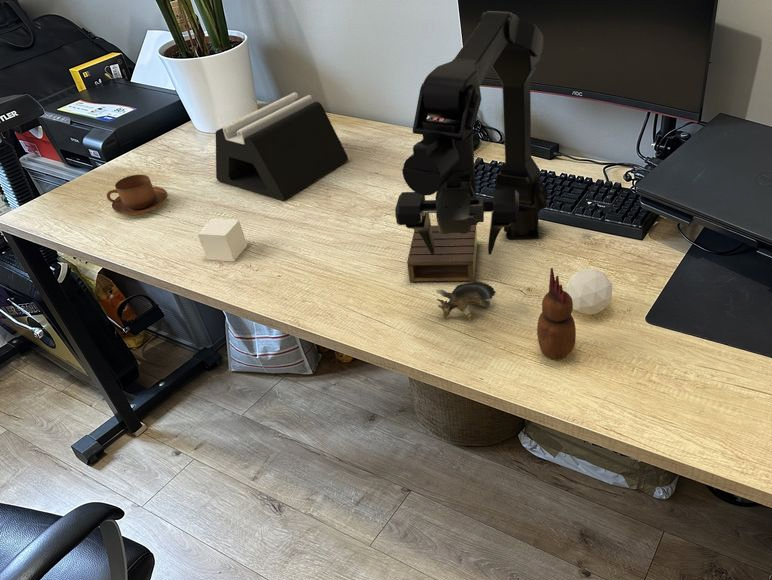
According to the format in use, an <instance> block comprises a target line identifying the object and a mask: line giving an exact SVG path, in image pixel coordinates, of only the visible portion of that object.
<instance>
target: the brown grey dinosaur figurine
mask: <svg viewBox="0 0 772 580" xmlns="http://www.w3.org/2000/svg"><path fill="white" fill-rule="evenodd" d="M435 291H436V293H437V294H438V295H440V296H442V297H444V298H447V299H448V300H443V299H440V298H437V299H436V301H438V302H439V303H440V304H438V305H437V306H438V308H440V309H441V310H442V312H443V315H442V317H443V319H445V318H447V317H448V316H449V315H450V313H451V312H452V311H453V310H454V309H455V308H457V309H458V310H459V311H460V312H462V313H463V314H464V315H465V316H466V317H467V318H468V320H471V317H472V315H471V311H470V310H469V308H468V307H467V305H469V304H473V305H479V306H482V307H485V308H489V307H490V304H491V302H490V301H489V300H492V299H493V297H495V295H496V293H497V292H496V290H495V288H494V287H492V285H490V284H489V283H486V282H481V281H474V282H465V283H462V284H457V285H456V287H455V288H454V289H453V290H452V291H451V292H448V291H446V290H444V289H442V288H437V289H435Z"/></svg>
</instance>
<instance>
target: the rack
mask: <svg viewBox="0 0 772 580" xmlns="http://www.w3.org/2000/svg"><path fill="white" fill-rule="evenodd" d="M431 228H432V233H433V239H434V246H435V254H434V256H432V255H431V253H430V251H429V250H428V248H427V246H426V244H425V242H424V240H423V239H422V237H421V236H420V234H419V233H418V232H417V231H416V230H414V229H413V233H412V239H411V243H410V248H409V252H408V256H407V261H406V263H407V273H408V280H409V283H412V284H413V283H416V282H460V281H464V282H465V281H467V282H468V283H470V282H475V278H476V277H475V276H476V263H477V252H478V230H477V225H471V230H470V232H468V233H466V234H461V233H448V234H442V233H440V232H439V229H438V225H431Z"/></svg>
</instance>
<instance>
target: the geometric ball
mask: <svg viewBox="0 0 772 580" xmlns="http://www.w3.org/2000/svg"><path fill="white" fill-rule="evenodd" d="M565 292H567V293H568V294H569V295H570V296H571V298H572V302H573V311H575V312H579V313H581V314H583V315H597V314H598V313H600V312H602V311H603V310H604V309H606V308H607V307H608V306H609V304H610V302H611V300H612V297H613V283H612V281H611V280H610V278H609V277H608V276H607V274H606V273H605V272H603V271H601V270H599V269H596V268H581V269H580V270H578V271H577V272H575V273H574V274H572V275H571V276H570V278H569V280H568V283H567V284H566V287H565Z"/></svg>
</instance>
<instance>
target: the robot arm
mask: <svg viewBox="0 0 772 580" xmlns="http://www.w3.org/2000/svg"><path fill="white" fill-rule="evenodd" d="M543 49H544V35H543V33H542V32H541V30H540V29H539V28H538V26H537V25H536V24H533V23H531V22H528V21H527V20H524V19H521V18H519V17H518V15H517V14H515V13H512V12H511V11H498V10H487V11H484V12H482V13H481V15H480V17H479V23H478V25H477V27H476V28H475V29H474V30H473V32H472V33H471V34H470V36H469V37H468V39H467V40H466V41H465V43H464V45H463V46H462V47H461V49H460V50H459V52H458V53H457V54H456V55H455V57H454V58H453V59H452V60H451V61H449V62H446V63H443V64H441V65H438V66H436V67H435V68H434V69H433V70H431V71H430V73H428V74H427V76H426V77H425V78H424V80H423V82H422V84H421V86H420V89H419V94H418V100H417V105H416V110H415V115H414V121H413V127H412V134H415V135H421V136H422V139H421V140H420V141H418V142H416V143H415V144H414V145H413V146H412V154H411V155H410V156H409V157H408V158H406V159H405V161H404V163H403V167H402V169H401V170H402V171H401V172H402V177H403V179H404V182H405V183H406V185H407V186H408V188H409V189H410V190H412V191H401V193H400V194H399V195H398V198H397V201H396V205H395V209H394V210H395V211H394V212H395V213H394V214H395V215H394V216H395V220H396V221H395V222H396V224H397V225H399V226H405V227H406V228H407V229H410V230H411V229H412V230H413V231H414V230H416V231H417V232H418V233H419V234H420V236H421V237H422V239H423V240H424V242H425V244H426V246H427V248H428V250H429V251H430V253H431V255H432V256H434V254H435V246H434V239H433V233H432V228H431V226H432V223H431V216H430V214H435V216H436V223H437V226H438V229H439V232H440V233H442V234H448V233H461V234H466V233H468V232H470V230H471V225H476V226H478V224H479V223H483V222H485V221H484V220H485V213H491V215H490V225H489V234H488V244H487V253H488V255H489V256H491V255H492V253H493V250H494V247H495V244H496V241H497V238H498V236H499V234H500V232H501V230H502V229H503V231H504V233H505V238H506V239H507V240H523V239H525V240H526V239H532V240H533V239H539V238H540V230H539V227H540V226H539V212H541V210H544V209H546V208H547V199H548V190H547V187H546V186H545V185H544V183H543V182H542V181H541V169H540V168H539V166H538V164H537V162H535V160H534V159H533V158H532V134H531V133H532V123H531V121H532V119H531V117H532V116H531V112H532V111H531V108H532V107H531V104H532V103H531V98H532V97H531V96H532V95H531V79H532V78H531V77H532V76H533V74H534V72H535V70H536V69H537V67H538V66H539V63H540V61H541V55H542V52H543ZM491 69H493V70H494V72H495V74H496V75H497V77H498V79H499V80H500V82H501V85H502V107H503V111H502V112H503V134H504V135H503V137H504V163H503V165H502V167H501V168H500V169H499V171H498V173H497V175H496V176H495V186H494V189H493V194H492V197H493V198H483V197H477V187H476V172H475V171H476V170H475V168H476V167H475V149H474V133H473V131H474V128H475V125H476V122H477V117H478V113H479V109H480V107H481V103H482V94H481V85H482V83H483V81H484V80H485V78H486V77H487V75H488V74H489V72H490V71H491ZM428 117H429V118H433V119H435V118H436V119H442V120H443V121H437V120H436V121H435V120H428ZM434 194H435V199H426V196H432V195H434Z"/></svg>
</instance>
